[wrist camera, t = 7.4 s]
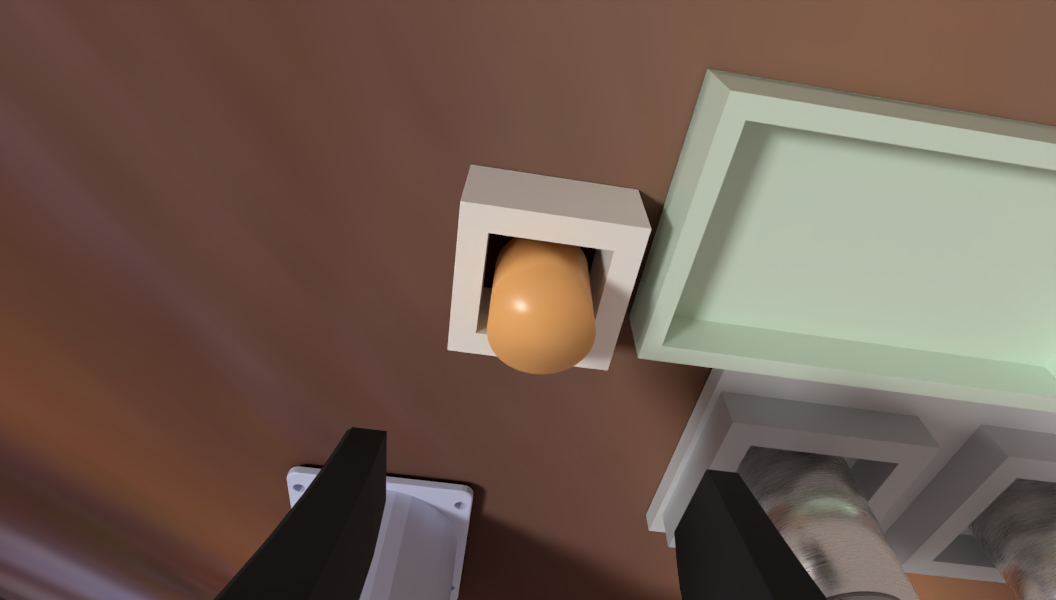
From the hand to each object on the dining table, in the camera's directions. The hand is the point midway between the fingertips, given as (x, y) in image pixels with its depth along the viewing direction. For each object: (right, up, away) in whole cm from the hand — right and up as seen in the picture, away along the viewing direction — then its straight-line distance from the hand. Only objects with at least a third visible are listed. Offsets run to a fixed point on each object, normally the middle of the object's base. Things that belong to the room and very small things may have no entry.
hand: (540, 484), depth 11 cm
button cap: (0, +4, +6) cm, 8 cm away
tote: (+11, +5, +7) cm, 14 cm away
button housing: (0, +5, +7) cm, 9 cm away
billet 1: (+10, -3, +12) cm, 16 cm away
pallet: (+15, -4, +13) cm, 20 cm away
